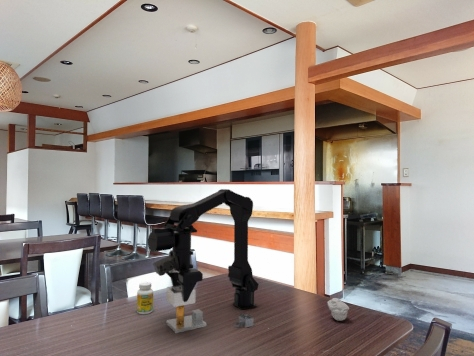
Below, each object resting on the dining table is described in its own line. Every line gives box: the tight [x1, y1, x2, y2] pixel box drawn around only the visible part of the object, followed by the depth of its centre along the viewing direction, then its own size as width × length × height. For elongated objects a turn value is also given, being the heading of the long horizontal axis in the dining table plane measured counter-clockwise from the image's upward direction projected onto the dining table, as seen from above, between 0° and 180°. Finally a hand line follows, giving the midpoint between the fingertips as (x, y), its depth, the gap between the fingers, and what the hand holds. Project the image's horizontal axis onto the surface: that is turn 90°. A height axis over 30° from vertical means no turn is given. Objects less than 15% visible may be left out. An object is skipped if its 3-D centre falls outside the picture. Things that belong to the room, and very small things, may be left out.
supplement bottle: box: [136, 281, 154, 315], centre depth 116 cm, size 5×5×10 cm
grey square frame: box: [165, 285, 196, 308], centre depth 105 cm, size 7×7×4 cm
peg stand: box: [165, 305, 207, 334], centre depth 106 cm, size 10×8×6 cm
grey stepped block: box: [233, 313, 255, 328], centre depth 106 cm, size 6×4×3 cm
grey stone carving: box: [327, 297, 350, 322], centre depth 111 cm, size 6×7×7 cm
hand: (180, 298), depth 105 cm, fingers closed on grey square frame, 7 cm apart
